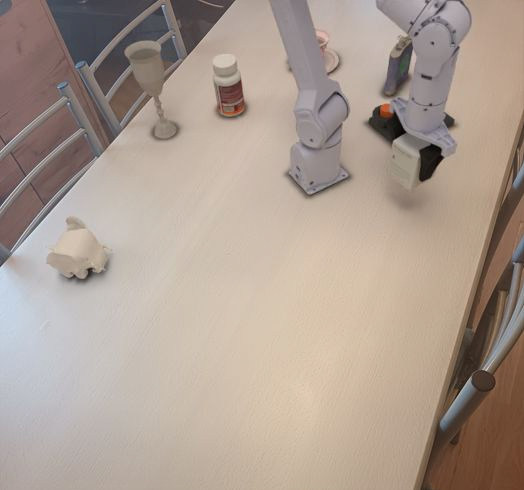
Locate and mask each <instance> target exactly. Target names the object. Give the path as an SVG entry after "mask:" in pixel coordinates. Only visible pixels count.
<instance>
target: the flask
mask: <svg viewBox="0 0 524 490" xmlns="http://www.w3.org/2000/svg"><path fill="white" fill-rule="evenodd" d="M396 40H398V42H396V44H395V45H394V46H393V48H392V49H391V51H390V53H389V56H388V57H389V58H388V64H387V65H388V66H387V73H386V79H385V86H384V89H383V90H384V92H383V93H384V95H385V96H387V97H392V96H395V94H396V92H397V91H398V90H399V89H400V87H401V86H402V84H403V83H404V82H406V81H407V80H408V78H409V72H410V65H411V62H412V56H413V52H414V49H413V44H412V38H411V37H410V36H408V35H406V36H404V35H401V34H399V35H398V36H397V38H396Z"/></svg>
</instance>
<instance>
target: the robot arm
mask: <svg viewBox="0 0 524 490" xmlns="http://www.w3.org/2000/svg"><path fill="white" fill-rule="evenodd" d="M268 2H269V6H270V8H271V11H272V15H273V17H274V19H275V21H274V22H275V23H276V27H277V30H278V32H279V37H280V38H281V42H282V46H283V48H284V51H285V54H286V57H287V60H288V64H289V63H290V65H289V67H290V66H291V67H290V69H291V73H292V75H293V78H294V81H295V84H296V87H297V90H298V93H297V97H296V100H295V104H294V107H293V114H294V117H295V131H296V134H297V137H298V139H299V140H298V141H297V142H296V143H294V144H293V145H292V146H291V147H290V149H289V156H290V157H289V158H290V159H289V160H290V170H289V171H288V174H289V175H290V176H291V178H292V179H293V181H295V182H296V183H297V184H298V185H299V186H300V187H301V188H302V189H303V191H304V192H305V193H306V194H307V195H309V196H311V195H313V194H316V193H319V192H320V191H321V190H325V189H326V188H328V187H331V186H333V185H334V184H337V183H338V182H340V181H343V180H345V179H347V178H348V177H349V173H348V172H347V171H346V170H345V169H343V168H342V166H341V155H342V154H341V153H342V141H343V140H342V139H343V125H344V123H343V122H346V120H347V119H348V118H349V116H350V113H351V104H350V102H349V100H348V98H347V97H346V95H345V94H344V93H343V91H342V88H341V86H340V82H339V81H337V80H334V79H331V78H330V77H329V73H327V71H326V67H325V63H324V60H323V56H322V53H321V49H320V46H319V42H318V39H317V35H316V32H315V28H314V27H315V25H314V22H313V18H312V14H311V11H310V7H309V3H308V0H268ZM375 6H376V9H378V11H380V12H381V13H382V14H383V15H384V16H386V17H387V18H388V19H389V20H390V21H391V22H392V23H394V25H395V26H397V27H398V28H399V29H400V30H401V31H403V32H404V33H405V34H406V35H407V36H410V37H411V38H412V44H413V52H414V55H415V56H416V59H415V63H414V68H413V73H412V78H411V83H410V88H409V93H408V99H405V98H403V97H402V96H401V95H399V96H397V97H395V98H393V99H391V100H390V101H389V104H390V106H389V111H390V112H391V113H394V116H393V118H391V119H389V120H387V123H386V125H387V127H388V129H389V132H390V135H391V138H392V143H393V141H394V140H395V139H397V138H399V137H400V136H402V135H404V134H405V133H409V134H411V135H413V136H415V137H418V138H420V139H422V140H425V141H427V142H429V143H431V144H430V146H426V147H424V148H422V149H420V150H419V154H420V158H421V168H420V173H419V180H420V181H421V182H423V181H426V180H428V179H429V180H431V179H432V178H431V176H432V175H433V173H434V171H435V170H436V171H437V168H438V167H439V166H440V164H441V163H442V161H443V160H444V159H445V158H448V157H450V156H452V155H453V154H455V153H456V152H457V151H456V150H457V148H458V144H459V143H458V141H456V140H455V138H453V136H452V134H451V132H450V131H449V128H447V127H446V125H445V123H444V122H443V119H445V116H446V114H445V113H446V112H445V109H446V106H447V102H448V98H449V94H450V91H451V86H452V82H453V78H454V75H455V71H456V68H457V67H456V66H457V62H458V61H457V60H458V57H459V52H460V49H461V46H460V44H462V42H463V41H464V40H465V39H466V37H467V36H468V34H469V32H470V30H471V27H472V22H473V17H472V12H471V10H470V8H469V6H468V5H467V4H466V3H465V1H464V0H375ZM444 112H445V113H444ZM392 143H391V144H392ZM436 171H435V172H436ZM430 178H431V179H430ZM429 180H428V181H429ZM426 182H427V181H426Z"/></svg>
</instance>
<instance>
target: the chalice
mask: <svg viewBox="0 0 524 490" xmlns="http://www.w3.org/2000/svg"><path fill="white" fill-rule="evenodd" d="M161 52H162V46H161V44H160V43H159V42H157V41H155V40H139V41H137V42H133V43H132V44H129V45H128V46H127V47H125V50H124V56H125V57H126V58H127V60H129V64H130V67H131V70H132V73H133V76H134V79H135V81H136V83H138V85H139V86H140V88H141V89H142V90H143V91H144V92H145V93H146V94H147V95H148V96H149V97H150V98H153V99H154V100H153V101H154V103H153V105H154V106H155V107H156V111H155V113H156V114H157V115H158V117H159V119H158V120H157V121H156V122H155V127H154V136H155V137H156V138H158V139H169V138H172V137H173V136H174V135H175V134H176V133H177V131H178V130H177V126H175V125H174V123H173V122H172V120H170V119H169V118H166V117H165V116H164V113H165V109H164V108H162V104H163V102H162V101H161V100H160V99H159V96H161V95H162V93H163V89H164V84H165V75H166V73H165V71H166V70H165V68H164V63H163V59H162V56H161Z"/></svg>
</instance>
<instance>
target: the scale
mask: <svg viewBox="0 0 524 490" xmlns="http://www.w3.org/2000/svg"><path fill="white" fill-rule="evenodd" d="M382 105H383V104H380V105H378V106H375V107H374V109H373V110H372V113H371V117H369V118H368V124H369V126H370V127H372V128H373V129H374V130H375V131H377V133H379V134H380V135H381V136H382V137H383V138H384V139H386V140H387V141H388V142H389V143H390V144H393V143H392V138H391V135H390V132H389V129H388V127H387V125H386V123H387V120H389V119H391V118H393V116H394V113H393V116H392V117H390V118H384V117H381V116H380V108H381V106H382ZM444 113H445V114H446V116H445V119H443V122H444V123H445V125H446V127H447V129H449V128H451V127H453V126H454V124H455V119H454V118H453V117H452V116H451V115H449V114H448V113H447V112H445V111H444Z"/></svg>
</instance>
